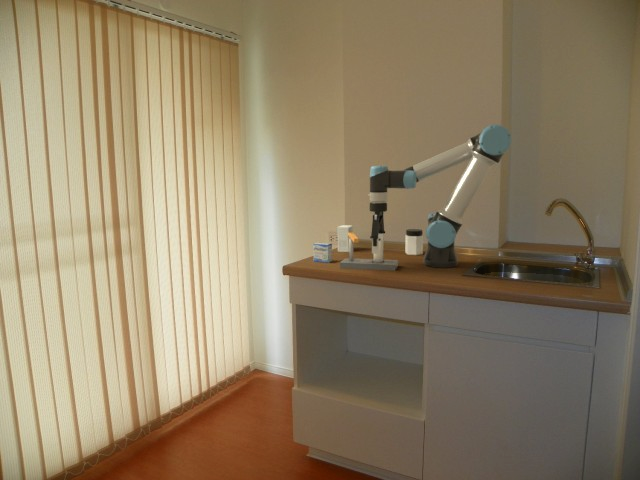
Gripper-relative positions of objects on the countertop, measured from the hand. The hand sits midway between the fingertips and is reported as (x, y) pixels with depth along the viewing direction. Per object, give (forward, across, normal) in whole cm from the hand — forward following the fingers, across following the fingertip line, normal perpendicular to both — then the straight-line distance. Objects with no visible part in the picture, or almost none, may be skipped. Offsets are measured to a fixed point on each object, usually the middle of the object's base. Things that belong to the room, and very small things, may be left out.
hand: (377, 250), depth 214 cm
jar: (+8, -38, +12) cm, 41 cm away
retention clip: (-6, +7, -9) cm, 13 cm away
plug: (+7, 0, 0) cm, 7 cm away
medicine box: (+8, -10, -28) cm, 31 cm away
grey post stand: (+8, 0, -4) cm, 9 cm away
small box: (+8, -40, -24) cm, 47 cm away
